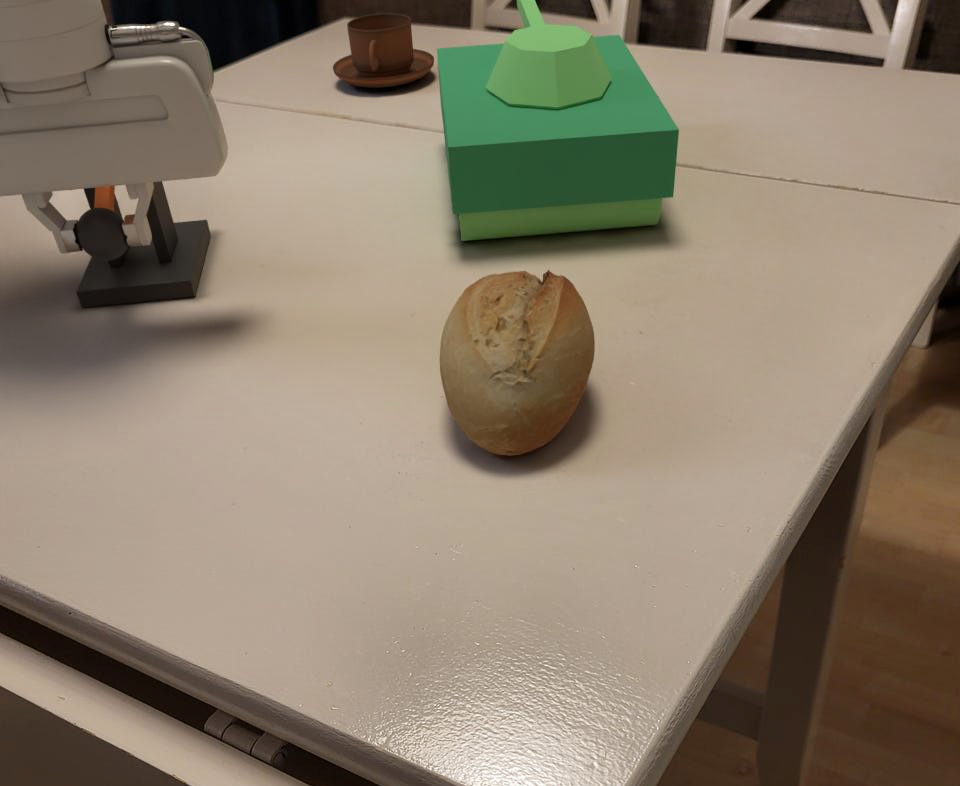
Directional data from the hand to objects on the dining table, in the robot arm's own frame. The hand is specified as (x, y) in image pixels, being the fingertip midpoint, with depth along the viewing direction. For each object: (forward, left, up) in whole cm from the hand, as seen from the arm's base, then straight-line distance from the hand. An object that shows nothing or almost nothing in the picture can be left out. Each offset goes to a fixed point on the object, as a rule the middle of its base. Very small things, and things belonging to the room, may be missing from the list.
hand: (106, 246), depth 71 cm
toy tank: (+35, +23, -6) cm, 42 cm away
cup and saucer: (+21, +56, -6) cm, 60 cm away
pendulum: (0, +5, +1) cm, 5 cm away
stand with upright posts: (0, +9, -6) cm, 11 cm away
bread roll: (+28, -17, -6) cm, 33 cm away
